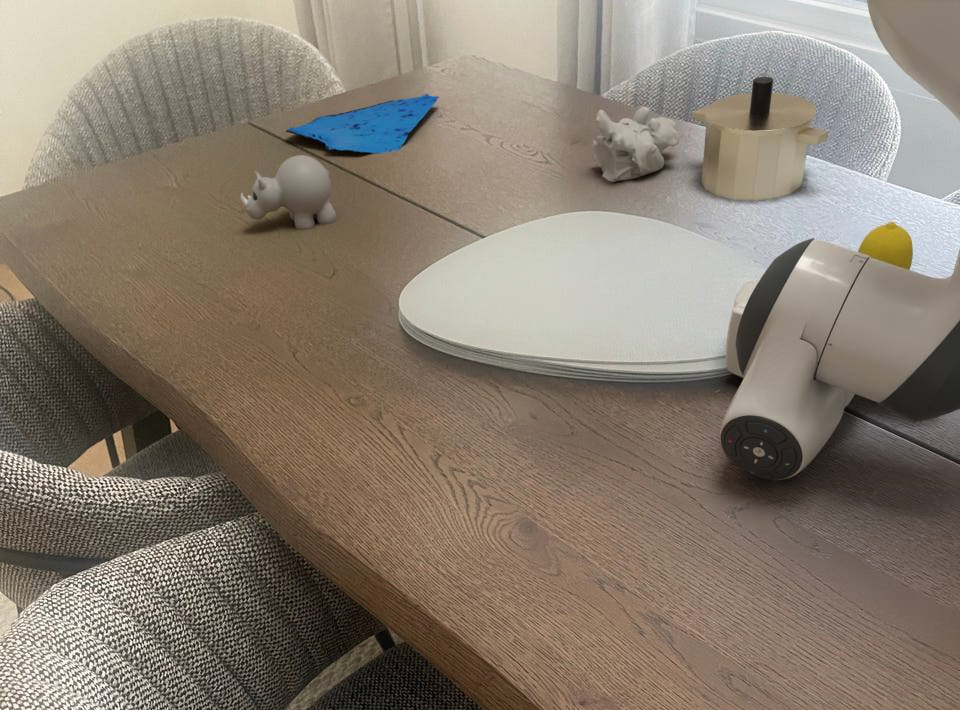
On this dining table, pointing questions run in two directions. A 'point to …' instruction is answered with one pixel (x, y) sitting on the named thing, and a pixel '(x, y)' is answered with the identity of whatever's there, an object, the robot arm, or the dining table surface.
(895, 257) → the lemon
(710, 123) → the pot lid
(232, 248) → the dining table surface
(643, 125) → the figurine
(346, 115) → the shard
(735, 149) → the pot
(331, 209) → the chubby cartoon animal
